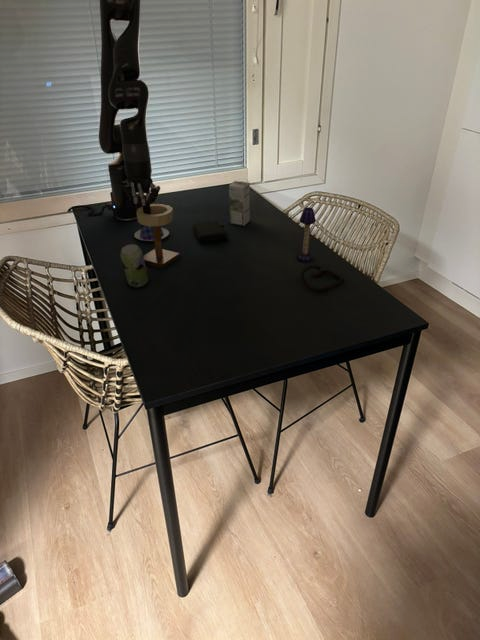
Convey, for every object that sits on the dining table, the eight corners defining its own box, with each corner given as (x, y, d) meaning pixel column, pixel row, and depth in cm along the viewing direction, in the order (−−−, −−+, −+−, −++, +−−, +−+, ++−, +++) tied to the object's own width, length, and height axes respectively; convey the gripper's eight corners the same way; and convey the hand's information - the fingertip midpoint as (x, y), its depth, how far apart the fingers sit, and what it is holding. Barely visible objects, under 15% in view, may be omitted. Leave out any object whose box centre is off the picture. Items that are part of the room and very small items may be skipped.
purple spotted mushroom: (315, 260, 155) (319, 209, 146) (303, 264, 153) (307, 212, 144) (306, 254, 158) (309, 204, 149) (294, 258, 156) (297, 207, 147)
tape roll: (131, 222, 147) (129, 212, 146) (152, 211, 155) (151, 201, 153) (159, 228, 143) (158, 218, 141) (179, 216, 150) (179, 207, 149)
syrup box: (250, 220, 183) (250, 181, 175) (243, 226, 178) (243, 186, 170) (236, 218, 185) (235, 180, 177) (229, 224, 180) (228, 184, 172)
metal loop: (335, 259, 146) (351, 273, 138) (333, 275, 149) (348, 290, 140) (294, 261, 142) (307, 276, 134) (291, 278, 145) (305, 293, 137)
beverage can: (153, 280, 145) (148, 242, 138) (140, 292, 139) (135, 253, 132) (134, 277, 147) (128, 239, 140) (121, 289, 141) (114, 250, 134)
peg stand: (139, 262, 155) (134, 225, 148) (157, 251, 161) (153, 215, 154) (162, 269, 151) (158, 230, 144) (179, 257, 158) (176, 220, 151)
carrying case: (231, 241, 167) (221, 225, 179) (231, 233, 165) (220, 217, 177) (200, 245, 165) (192, 229, 177) (200, 237, 163) (191, 221, 175)
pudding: (163, 226, 179) (161, 212, 176) (174, 238, 170) (172, 224, 167) (130, 232, 175) (128, 218, 172) (140, 245, 165) (138, 230, 163)
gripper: (164, 157, 141) (169, 215, 150) (126, 151, 146) (134, 208, 156) (147, 164, 135) (154, 223, 145) (109, 157, 141) (118, 215, 150)
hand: (143, 215), depth 150 cm, fingers closed on tape roll
